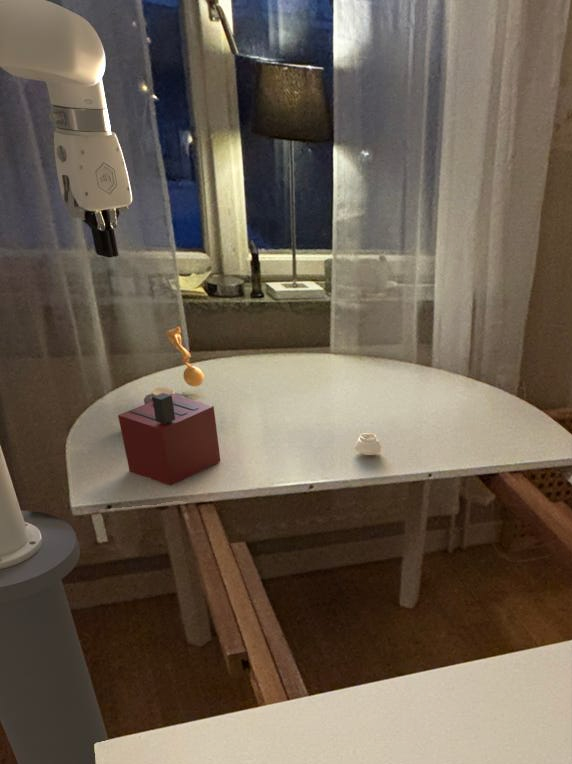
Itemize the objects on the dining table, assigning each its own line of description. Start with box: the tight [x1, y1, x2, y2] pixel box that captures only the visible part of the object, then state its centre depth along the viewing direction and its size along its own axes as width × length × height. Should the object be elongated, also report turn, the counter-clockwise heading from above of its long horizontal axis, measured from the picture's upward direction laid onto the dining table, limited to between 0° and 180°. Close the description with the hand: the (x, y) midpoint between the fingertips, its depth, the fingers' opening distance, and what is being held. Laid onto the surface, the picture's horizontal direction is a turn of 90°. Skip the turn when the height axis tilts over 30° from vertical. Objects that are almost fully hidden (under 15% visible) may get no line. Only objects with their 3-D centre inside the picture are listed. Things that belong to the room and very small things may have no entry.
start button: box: [150, 387, 176, 397], centre depth 143 cm, size 4×4×2 cm
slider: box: [152, 393, 175, 424], centre depth 121 cm, size 2×2×4 cm
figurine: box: [166, 326, 205, 388], centre depth 156 cm, size 8×6×12 cm
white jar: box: [354, 432, 383, 456], centre depth 142 cm, size 5×3×5 cm
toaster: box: [117, 394, 221, 487], centre depth 128 cm, size 12×9×10 cm
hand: (107, 255), depth 125 cm, fingers closed
